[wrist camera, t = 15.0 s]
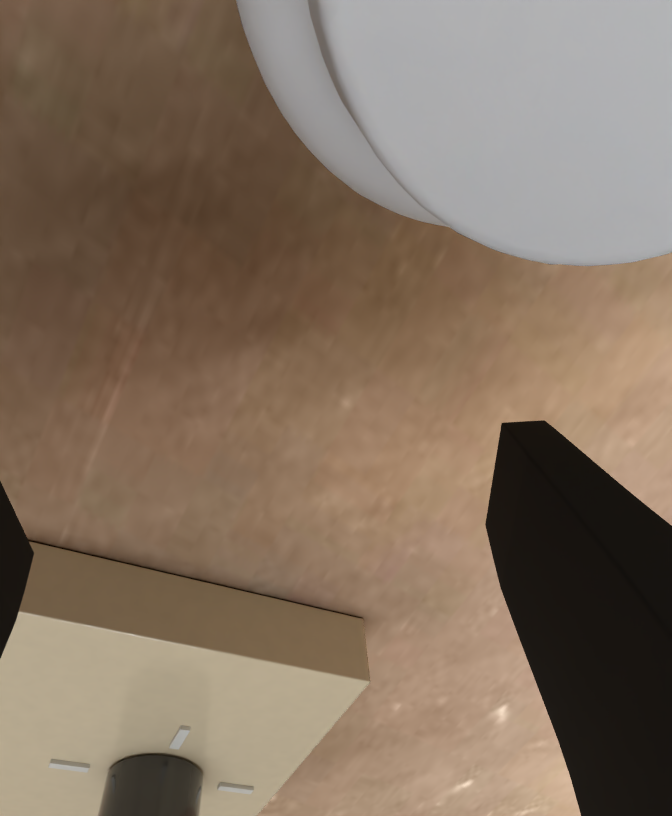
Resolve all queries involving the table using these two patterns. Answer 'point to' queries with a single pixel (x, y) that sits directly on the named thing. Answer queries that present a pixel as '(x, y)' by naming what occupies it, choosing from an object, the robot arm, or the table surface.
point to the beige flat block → (164, 684)
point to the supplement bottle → (487, 114)
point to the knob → (152, 787)
